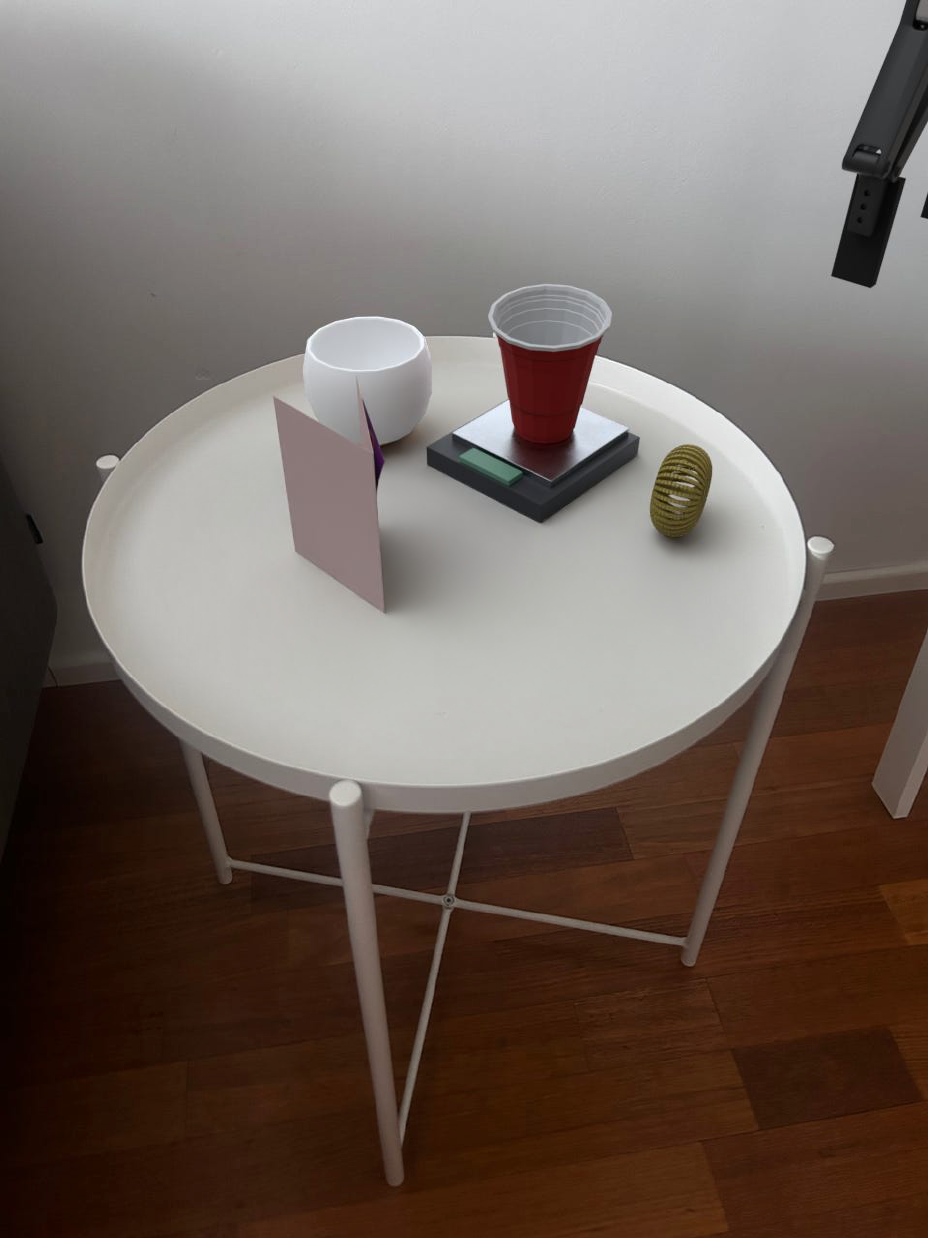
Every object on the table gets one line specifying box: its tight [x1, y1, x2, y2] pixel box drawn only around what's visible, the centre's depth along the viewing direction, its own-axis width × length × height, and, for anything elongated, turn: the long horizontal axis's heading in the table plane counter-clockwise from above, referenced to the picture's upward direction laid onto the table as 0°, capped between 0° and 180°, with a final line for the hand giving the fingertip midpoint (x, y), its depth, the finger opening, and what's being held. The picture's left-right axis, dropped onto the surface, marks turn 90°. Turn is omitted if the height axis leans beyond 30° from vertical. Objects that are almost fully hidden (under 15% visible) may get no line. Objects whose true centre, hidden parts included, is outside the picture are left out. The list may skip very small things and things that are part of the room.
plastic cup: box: [487, 283, 613, 444], centre depth 92 cm, size 11×11×12 cm
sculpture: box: [649, 443, 713, 538], centre depth 86 cm, size 8×4×8 cm, turn 155°
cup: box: [302, 316, 433, 447], centre depth 98 cm, size 12×12×10 cm
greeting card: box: [272, 376, 386, 614], centre depth 79 cm, size 11×7×15 cm, turn 11°
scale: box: [426, 398, 641, 524], centre depth 96 cm, size 14×15×3 cm
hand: (899, 249), depth 68 cm, fingers open, 13 cm apart
